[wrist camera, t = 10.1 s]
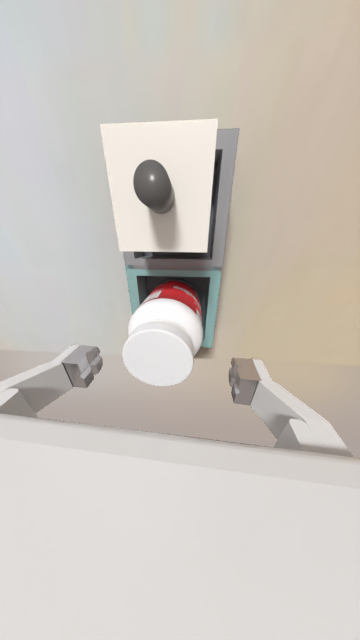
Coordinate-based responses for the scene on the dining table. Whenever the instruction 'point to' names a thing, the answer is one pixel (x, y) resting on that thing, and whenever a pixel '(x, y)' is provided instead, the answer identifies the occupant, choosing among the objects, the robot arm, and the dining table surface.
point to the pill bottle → (164, 334)
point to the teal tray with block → (172, 205)
